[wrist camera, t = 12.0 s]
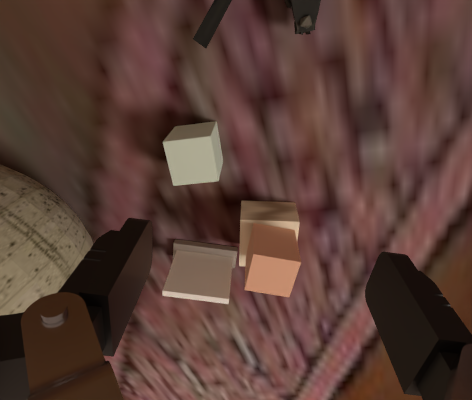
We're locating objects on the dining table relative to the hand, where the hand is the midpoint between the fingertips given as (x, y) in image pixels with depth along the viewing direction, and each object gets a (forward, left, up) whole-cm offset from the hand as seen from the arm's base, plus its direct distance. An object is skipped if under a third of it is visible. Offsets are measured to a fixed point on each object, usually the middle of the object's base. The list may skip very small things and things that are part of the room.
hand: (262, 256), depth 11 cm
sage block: (+6, +6, -28) cm, 29 cm away
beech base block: (-4, +16, -28) cm, 33 cm away
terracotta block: (-4, +16, -23) cm, 28 cm away
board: (+4, +22, -28) cm, 36 cm away
